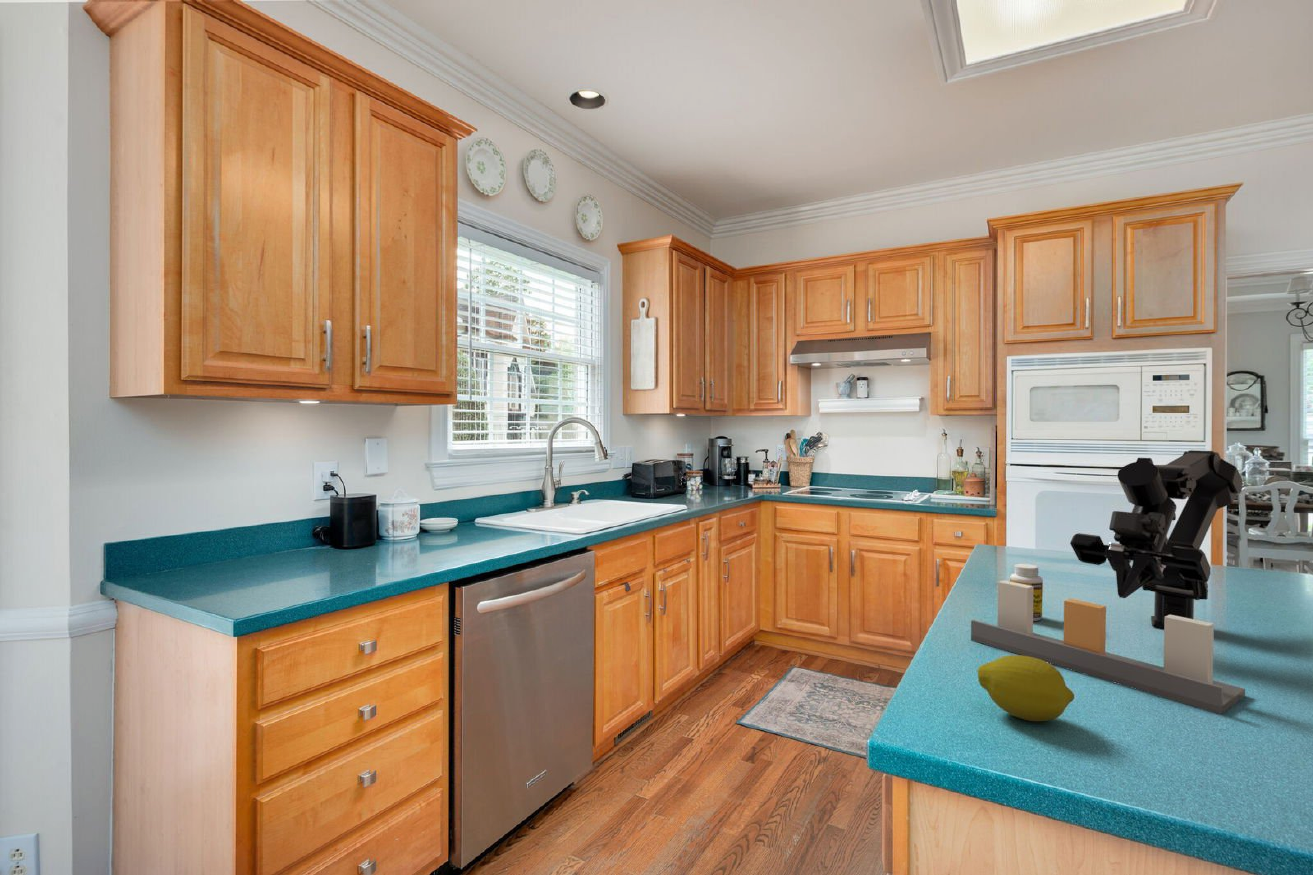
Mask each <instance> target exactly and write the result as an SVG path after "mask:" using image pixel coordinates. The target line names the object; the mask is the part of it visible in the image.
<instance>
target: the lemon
mask: <svg viewBox="0 0 1313 875" xmlns="http://www.w3.org/2000/svg"><path fill="white" fill-rule="evenodd" d="M977 678H978V683H979V685H980V686H981V688H983V689H984V690H986V692H987V694H988V696H989V697H990V699H991V701H992V702H993V703H995V705H997V706H998V707H999V708H1000V709H1001V710H1003V711H1005V712H1006V713H1008V714H1009V715H1011V716H1013V717H1016V718H1019V719H1022V720H1025V721H1030V722H1048V721H1052V720H1055V719H1057V718H1059V717H1060V716H1062V715H1063V714H1064V711H1065V710H1066V708H1067V707H1068V705H1070V703H1071V702H1073V701H1074V699H1075V695H1074V693H1073V691H1072V690H1071V689H1070V688H1068V687H1067V685H1066V684H1067V683H1066V681H1065V679H1064V676H1063V675H1062V674H1061V672H1060V671H1059V669H1057V668H1056V667H1055V665H1053V664H1049V663H1047V662H1045V661H1043V660H1041V659H1037V658H1034V657H1029V656H1022V655H1019V654H1014V655H1013V654H1012V655H1005V656H1001V657H999V658H996V659H994V660H992V661H990V662H986V663H984V664H982V665H980V666H978V668H977Z"/></svg>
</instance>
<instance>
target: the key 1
mask: <svg viewBox="0 0 1313 875" xmlns="http://www.w3.org/2000/svg"><path fill="white" fill-rule="evenodd" d="M1033 589H1034V586H1029V585H1025V584H1020V583H1015V582H1010V580H999V581H998V582H997V626H998V627H1002V628H1006V629H1009V630H1013V631H1017V632H1021V633H1024V634H1028V635H1032V636H1033V633H1034V621H1033Z"/></svg>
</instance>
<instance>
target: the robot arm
mask: <svg viewBox="0 0 1313 875" xmlns="http://www.w3.org/2000/svg"><path fill="white" fill-rule="evenodd" d="M1117 479H1118V481H1119V483H1120V485H1121V488H1122V490H1123V493H1124V495H1125V497H1126V499H1127V500H1128V503H1130V504H1132V505H1134V506H1133V508H1132V510H1131V512H1128V511H1119V510H1117V511H1116V510H1115V511H1114V510H1113V511H1112V513H1111V519H1110V522H1109V527H1108V529H1109V530H1110V531H1112V532H1113V533H1114V534H1113V538H1114V541H1115V542H1109V543H1108V544H1104V542H1103V540H1102V537H1101V536H1100V535H1096V534H1095V535H1094V534H1087V533H1081V532H1080V533H1079V532H1078V533H1075V534H1074V535H1073V536H1072V538H1071V540H1070V543H1069V545H1070V546H1071V548H1072V550H1073V551H1074V553H1075V556H1076V558H1077V559H1078V561H1080V562H1082V563H1085V564H1091V565H1096V566H1100V565H1102V564H1105V563H1106V561H1108V563H1109V565H1110V568H1111V569H1112V570H1113V571H1114V572H1115V577H1116V587H1117V595H1118V597H1119V598H1121V599H1126V598H1128V597H1129V596H1131V595H1133V593H1135V592H1136V591H1137V590H1139V589H1140V588H1142V591H1146V592H1147V591H1148V592H1154V610H1153V612H1154V615H1151V616H1150V621H1151V626H1152V627H1154V628H1159V629H1164V618H1165V616H1168V615H1175V616H1180V617H1184V618H1189V619H1194V615H1195V612H1194V611H1195V601H1201V600H1204V601H1205V600H1206V601H1207V600H1208V598H1209V597H1208V595H1209V594H1208V593H1209V589H1208V588H1209V585H1208V582H1209V579H1210V576H1211V566H1210V564H1209V561H1208V558H1207V556H1206V553H1205V552H1204V551H1203V550H1202V549H1201V546H1202V544H1203V541H1204V540H1205V537H1206V535H1207V533H1208V531H1209V529H1210V527H1211V524H1212V522H1213V520H1214V518H1215V516H1216V514H1217V512H1218V510H1220V509H1222V508H1225V507H1227V506H1229V505H1232V504H1233V502H1234V501H1235V500H1236V498H1237V496H1238V495H1239V494H1241V492H1242V489H1243V478H1242V476H1241V474H1240V472H1239V469H1238V468H1237V466H1235V465H1233V464H1231V463H1230V462H1228V461H1227V460H1224V458H1221V456H1220V454H1219V452H1215V451H1214V450H1195V449H1194V450H1193V449H1191V450H1190V449H1189V450H1188V451H1184V452H1183V455H1181V456H1179V457H1177V458H1176V459H1174V460H1171V461H1170V462H1168V463H1167V464H1154V462H1153V459H1152V458H1151V457H1137V459H1136V461H1134V462H1130V463H1127V464H1126V465H1124V466H1122V467H1121V469H1119V470H1118V472H1117ZM1173 499H1174V500H1186V499H1187V501H1186V502H1185V505H1184V507H1183V509H1182V510H1181V513H1180V514H1179V516H1178V519H1177V515H1176V512H1177V504H1176V503H1175V501H1174V500H1173ZM1176 519H1177V520H1176ZM1172 521H1176V522H1175V525H1174V526H1173V529H1172V530H1171V532H1170V535H1169V537H1167V536H1168V533H1169V530H1170V527H1171V525H1172ZM1116 542H1118V543H1116ZM1131 563H1132V565H1131ZM1194 620H1195V619H1194Z"/></svg>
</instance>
